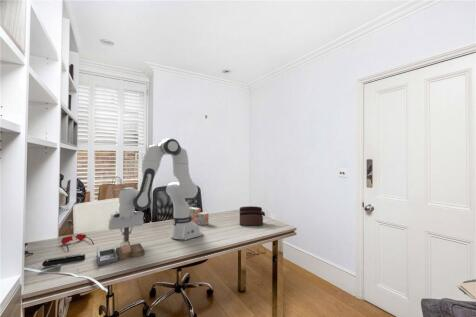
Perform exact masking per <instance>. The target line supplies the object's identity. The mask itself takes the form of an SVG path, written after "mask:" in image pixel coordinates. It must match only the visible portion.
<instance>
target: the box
mask: <svg viewBox="0 0 476 317" xmlns="http://www.w3.org/2000/svg"><path fill="white" fill-rule="evenodd" d="M96 260H97V266H98V267H100V266H105V265H111V264H114V263H118V262H119V260H118V255H117V253H116V247H114V248H113V247H112V248H107V249H103V250H100V249H99V246H97V247H96Z"/></svg>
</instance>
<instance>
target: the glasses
mask: <svg viewBox="0 0 476 317" xmlns="http://www.w3.org/2000/svg"><path fill="white" fill-rule="evenodd" d="M73 237H74V238H75V240H79V241H83V240H85V239H86V238H87V239H88V240H90V242H91V244H92V245H94V246H95V244H94V240H93V239H91V238H90V237H88V236H87V234H85V233H84V232H83V233H77V234H76V235H75V234H74V235H69V236H64V237H62V239H61V240H60V242H61V244H62V245H65V247H66V249H67V252H69V251H70V250H69V245H67V243H69V242H71V241H73V240H74V238H73Z"/></svg>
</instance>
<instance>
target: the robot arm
mask: <svg viewBox="0 0 476 317" xmlns="http://www.w3.org/2000/svg"><path fill="white" fill-rule="evenodd" d="M165 155H168V156H169V155H170V156H171V158H172V174H173V176H174V177H175V178H176V179H177V181H174V182H173V181H172V182H170V183H168V184H166V185H167V186H166V187H165V192H166V194H167V195H168V196H169V197H170V199H171V202H172V205H173V206H172V207H173V217H172V232H171V235H170V238H172V239H175V240H185V241H187V240H191V239H193V238H197V237H200V236H203V235H204V234H203V231H201V230H200V229H201V228H200V226H199V224H196V223H194V222H193V221H192V220H194V217H191V216H189V207H190V205H189V203H188V202H187V201H186V199H192V198H195V197H196V196H197V194H198V191H199V189H198V186H197V185H196V183H194V182H193V180H192V178H191V174H190V169H189V168H190V167H189V157H188V156H189V155H188V152H187V150H186V149H185V148H183V147H181V145H180V143H179V141H178V140H176V139H174V138H165V139H162V140H161V141H159V142H158V143H157V144H151V145H149V146H148V147H147V149H146V151H145V154H144V157H143V160H142V163H141V172H142V173H141V174H142V181H141V185H140V189H139V190H138V189H136V188H134V187H132V186H131V187H129V186H128V187H124V188H122V189H121V190H120V191H119V196H118V203H119V207H118V210H116V211H114V212H111V213H110V218H109V219H108V224H107V225H108V230H109V231H113V230H114V231H115V230H118V229H119V231H120V232H121V236H124V233H125V232H124V228H128V227H129V235H131V234H132V231H133V229H134V227H140V226H143V225H144V214H145V213H144V210H147V209H149V207H150V206H151V204H152V199H151V190H152V187H153V182H154V180H155V177H156V175H157V173H158V170H159V168H160V166H161V161H162V158H163V157H164V156H165ZM135 209H136V210H138V211H135Z"/></svg>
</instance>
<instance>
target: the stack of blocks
mask: <svg viewBox="0 0 476 317" xmlns="http://www.w3.org/2000/svg"><path fill="white" fill-rule="evenodd" d="M209 215H210V214H209V212H206V211H205V212H204V211H202V210H201V208H200V207H193V206H189V216H191V217H194V220H192V221H193V222H194V223H196V224H197V225H200V226H206V225H208V224H209Z"/></svg>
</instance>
